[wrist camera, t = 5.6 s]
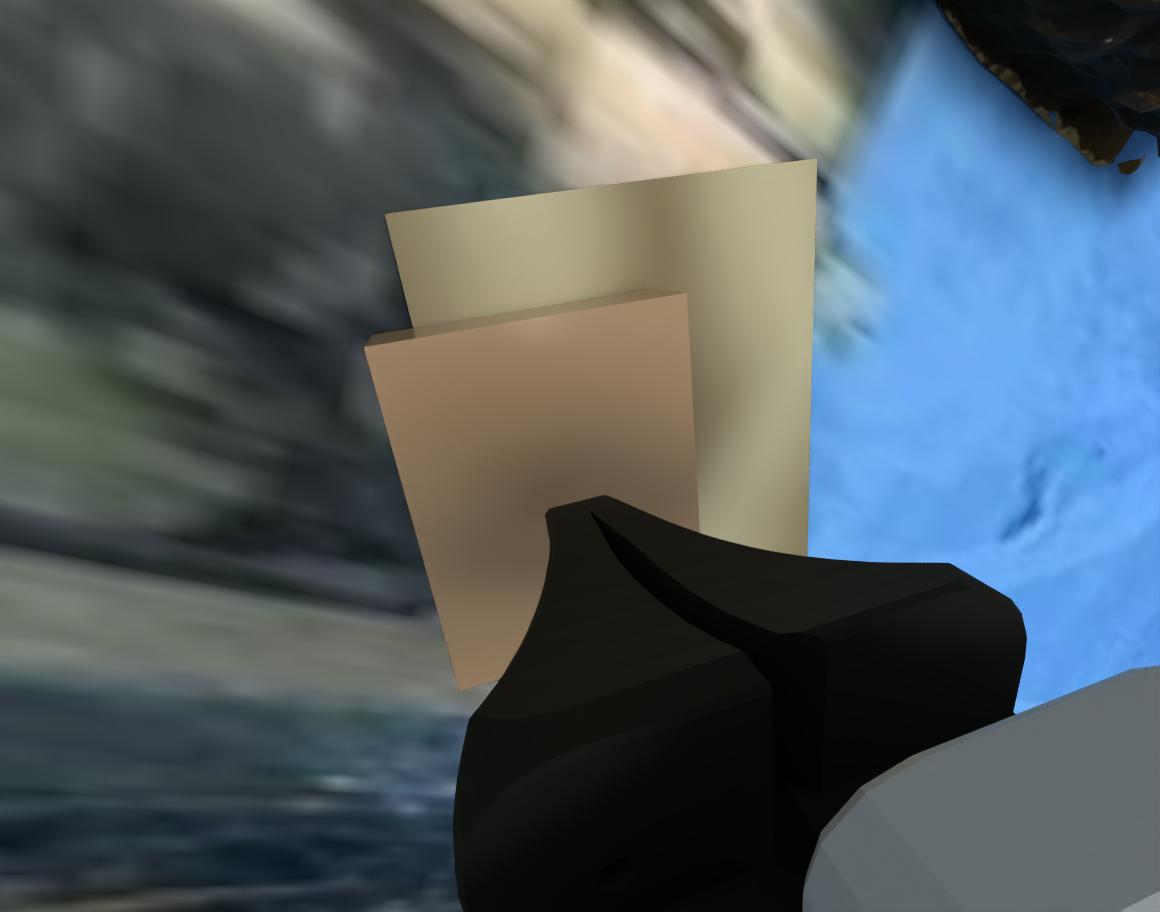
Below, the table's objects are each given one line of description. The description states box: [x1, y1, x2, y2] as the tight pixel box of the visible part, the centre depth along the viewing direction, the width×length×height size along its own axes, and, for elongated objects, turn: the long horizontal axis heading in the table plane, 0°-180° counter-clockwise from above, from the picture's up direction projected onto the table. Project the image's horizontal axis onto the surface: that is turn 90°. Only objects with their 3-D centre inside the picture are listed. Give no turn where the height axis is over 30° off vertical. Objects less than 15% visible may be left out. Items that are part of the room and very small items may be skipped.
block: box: [364, 289, 700, 691], centre depth 14 cm, size 2×9×7 cm
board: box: [385, 158, 817, 556], centre depth 16 cm, size 11×14×1 cm
